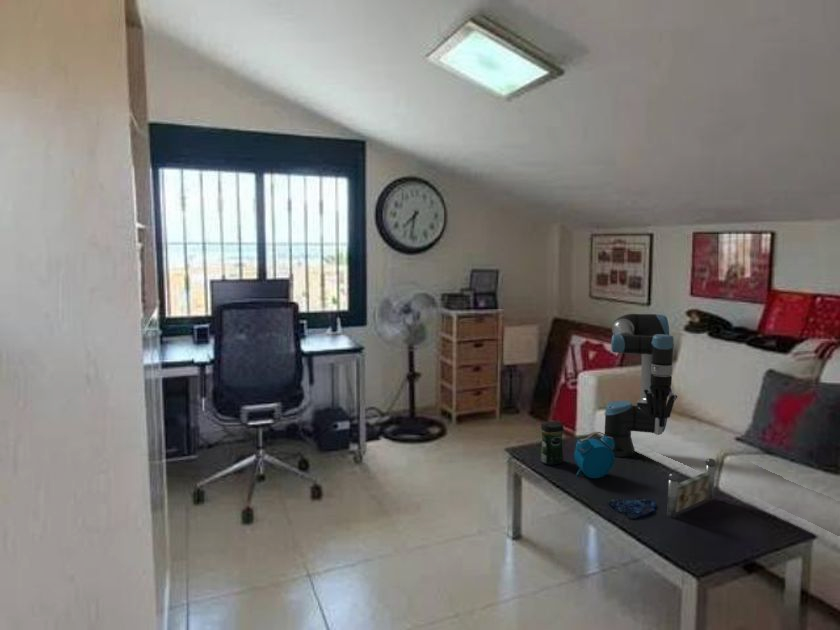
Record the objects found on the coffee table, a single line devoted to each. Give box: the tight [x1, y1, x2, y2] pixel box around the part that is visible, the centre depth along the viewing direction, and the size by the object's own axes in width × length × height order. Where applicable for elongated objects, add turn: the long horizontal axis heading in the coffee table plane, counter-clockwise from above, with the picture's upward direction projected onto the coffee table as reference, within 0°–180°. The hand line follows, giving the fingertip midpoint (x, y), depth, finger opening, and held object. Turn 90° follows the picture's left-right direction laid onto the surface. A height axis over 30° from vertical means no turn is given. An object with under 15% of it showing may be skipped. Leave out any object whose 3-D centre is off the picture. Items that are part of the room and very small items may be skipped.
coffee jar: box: [539, 420, 564, 466], centre depth 255 cm, size 10×8×19 cm
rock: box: [607, 498, 656, 520], centre depth 211 cm, size 15×17×2 cm
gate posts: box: [666, 458, 717, 519], centre depth 211 cm, size 27×3×16 cm, turn 124°
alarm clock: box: [573, 431, 615, 479], centre depth 239 cm, size 17×10×20 cm, turn 105°
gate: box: [676, 472, 710, 513], centre depth 210 cm, size 20×3×9 cm, turn 124°
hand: (658, 433), depth 225 cm, fingers closed
